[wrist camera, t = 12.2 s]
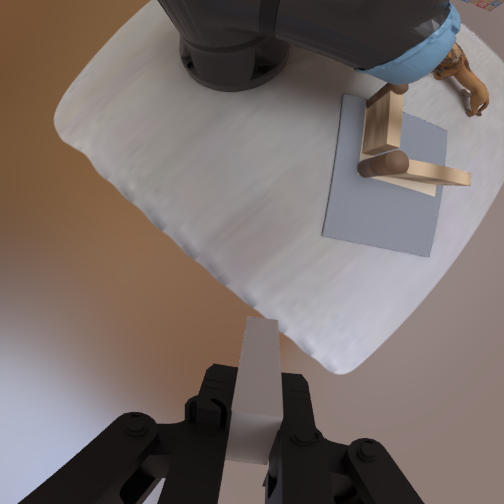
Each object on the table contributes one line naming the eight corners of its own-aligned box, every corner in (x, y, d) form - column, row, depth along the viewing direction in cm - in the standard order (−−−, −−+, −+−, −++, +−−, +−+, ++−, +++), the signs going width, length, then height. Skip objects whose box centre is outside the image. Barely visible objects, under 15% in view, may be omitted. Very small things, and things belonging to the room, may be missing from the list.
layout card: (342, 94, 32) (343, 93, 32) (445, 131, 32) (447, 130, 31) (321, 235, 36) (322, 236, 36) (427, 256, 36) (429, 257, 35)
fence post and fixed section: (363, 98, 32) (394, 69, 21) (378, 103, 32) (413, 77, 21) (354, 175, 35) (387, 170, 24) (370, 179, 34) (407, 176, 24)
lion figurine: (413, 66, 30) (440, 45, 21) (421, 48, 29) (448, 26, 20) (475, 125, 31) (509, 118, 22) (482, 105, 30) (513, 95, 21)
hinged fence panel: (379, 176, 33) (406, 173, 26) (379, 164, 33) (407, 158, 25) (437, 185, 33) (470, 185, 25) (438, 174, 33) (470, 173, 25)
